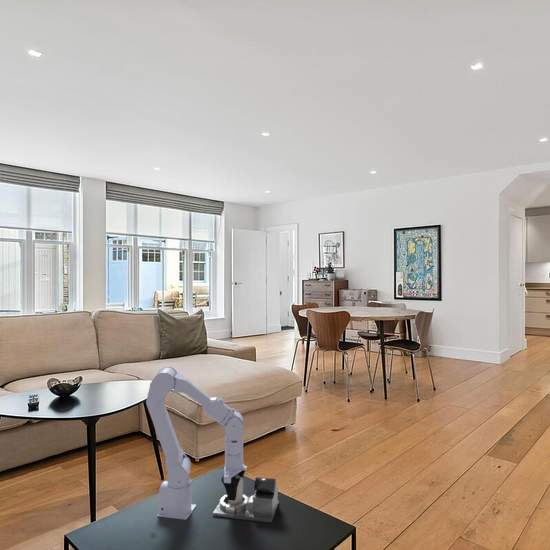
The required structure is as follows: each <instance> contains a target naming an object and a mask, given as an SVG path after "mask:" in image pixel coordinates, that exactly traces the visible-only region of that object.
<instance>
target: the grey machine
mask: <svg viewBox="0 0 550 550" xmlns="http://www.w3.org/2000/svg"><path fill="white" fill-rule="evenodd" d="M253 487H254V494H253V495H251V496H247V495H246V494H245V493H244V494H243V502H242V504H239V505H237V506H233V505H230V504H229V503H228V497H227V494H224V495H223V496H222V497H221V498H220V499H219V503H218V504H217V505H216V507H215V508H214V510H213V512H212V516H213V517H218V518H227V519H228V518H229V519H237V520H245V521H247V520H248V521H252V522H253V521H256V522H262V523H272V522H273V519H274V517H275V514H276V512H277V508H278V505H279V503H280V502H279V501H280V500H279V499H278V497H279V495H278V493H279V492H278V488H279V487H278V486H277V479H276V478H270V477H269V478H267V477H259V476H256V477H255V480H254V484H253Z"/></svg>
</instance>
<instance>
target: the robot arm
mask: <svg viewBox="0 0 550 550" xmlns="http://www.w3.org/2000/svg"><path fill="white" fill-rule="evenodd" d="M172 390H173V391H172ZM171 391H172V393H173V394H178V393H179V394H181V393H183V394H185V395H186V396H188V397H189V398H190V399H192V400H194V401H195V402H196V403H198V404H199V405H201V406H202V407H203V408H204V413H205V414H206V415H207V416H209V417H210V418H211V419H213V420H214V421H215V422H217V423H218V424H219V425H221V426H224V427H223V428H224V431H225V436H224V466H223V469H224V471H223V473H224V475H223V476H222V477H221V483H222V485H223V486H224V488H225V492H226V495H227V497H228V500H232V501H235V499H236V493H237V487H238V483H239V481H240V479H241V478H235V477H234V476H235V475H239V476H240V477H242V478H243V479H244V475H245V473H246V471H247V469H248V465H245V464H244V436H243V435H244V428H245V424H244V418H243V415H242V414H241V413H240V411H239V410H236V409H235V408H234V407H232V408H231V407H230V406H228V405H227V404H226V403H225V402H224V399H223V398H222V397H219V398H218V397H216V396H214V397H211V396H209V395H208V394H207V393H205V392H204V391H203V390H202V389H200V387H198V386H197V385H196V384H195V383H193V382H192V381H191V380H190V379H189V378H188V377H186V376H185V375H184V374H183V373H181V372H180V371H177V370H176V369H175V368H174V367H172V366H164V367H163V368H161V369H159V371H158V373H157V374H156V375H155V376H154V378H153V379H152V380H151V382H150V384H149V389H148V392H147V396H146V401H145V405H146V408H147V410H148V412H149V415H150V418H151V420H152V424H153V427H154V429H155V432H156V434H157V435H156V436H157V437H158V440H159V443H160V446H161V449H162V452H163V454H164V457H165V467H166V472H167V475H166V476H167V477H166V479H167V480H164V481H162V482H161V484H160V486H159V489H158V513H157V517H161V518H169V519H177V520H185V521H186V520H188V518H189V517H190V515H191V514H192V513H193V512H194V510H195V508H197V504H195V503H194V504H193V503H192V478H191V476H190V475H189V474H190V471H191V468H192V462H191V459H190V458H189V457H188V456H187V455H186V454H185V450H184V449H183V448H182V447H181V445H180V442H179V439H178V438H177V434H176V431H175V429H174V426H173V423H172V421H171V417H170V414H169V411H168V409H167V407H166V403H165V399H166V397H167V395H168V394H169V393H170V392H171Z"/></svg>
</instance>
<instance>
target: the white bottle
mask: <svg viewBox="0 0 550 550" xmlns="http://www.w3.org/2000/svg"><path fill="white" fill-rule="evenodd" d="M234 477H235V478H241V479H240V481H239V483H238V487H237V493H236V499H235V501H232V500H228V503H229V504H230V505H233V506H237V505H239V504H242V502H243V493H244V477H243V478H242V477H240V476H239V475H235V476H234Z"/></svg>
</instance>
